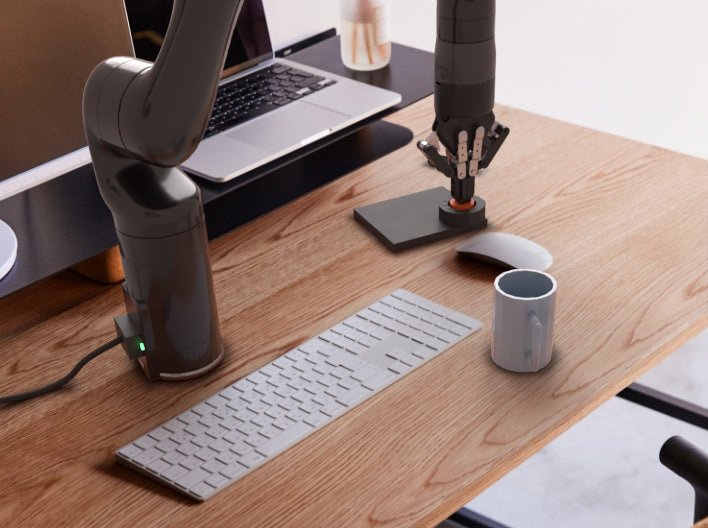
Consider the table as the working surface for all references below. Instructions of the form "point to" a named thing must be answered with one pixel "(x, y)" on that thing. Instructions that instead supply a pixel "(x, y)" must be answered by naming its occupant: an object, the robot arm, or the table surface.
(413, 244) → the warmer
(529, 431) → the table surface
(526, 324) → the mug
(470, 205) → the warmer button
